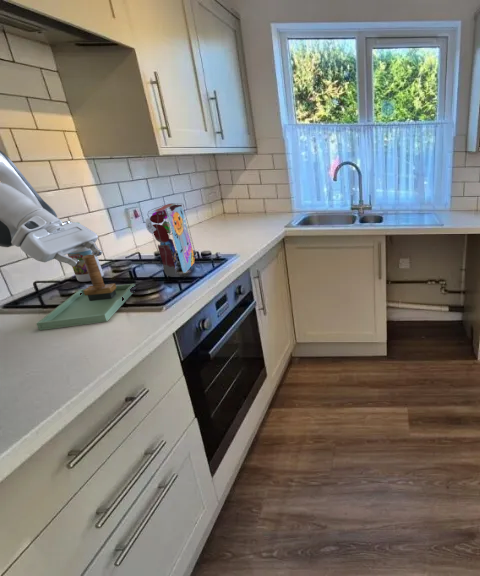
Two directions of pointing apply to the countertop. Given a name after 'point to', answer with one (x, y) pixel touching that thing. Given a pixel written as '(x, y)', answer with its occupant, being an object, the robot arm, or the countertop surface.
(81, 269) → the milk bottle
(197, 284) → the countertop surface
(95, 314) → the tray
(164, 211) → the box
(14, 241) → the robot arm
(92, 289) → the stamp
